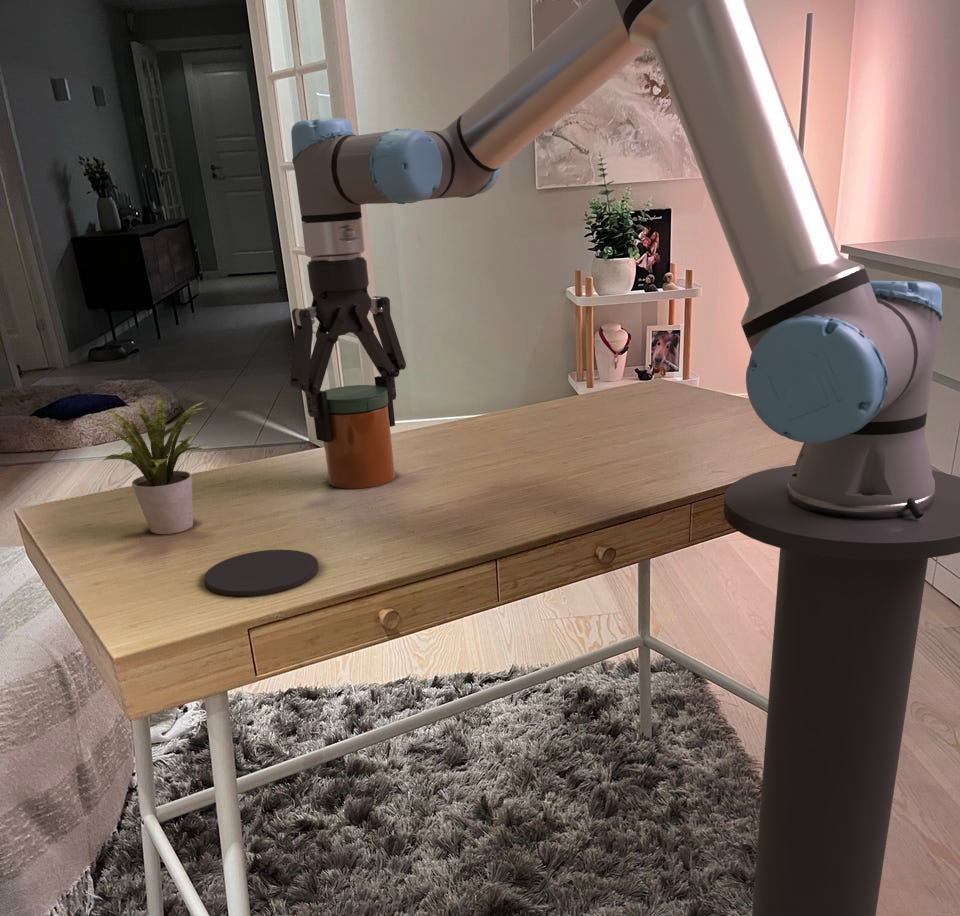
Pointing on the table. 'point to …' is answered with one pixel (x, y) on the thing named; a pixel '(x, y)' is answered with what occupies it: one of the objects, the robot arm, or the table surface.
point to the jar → (360, 449)
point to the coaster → (261, 572)
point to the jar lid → (356, 398)
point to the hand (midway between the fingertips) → (356, 432)
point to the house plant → (160, 469)
